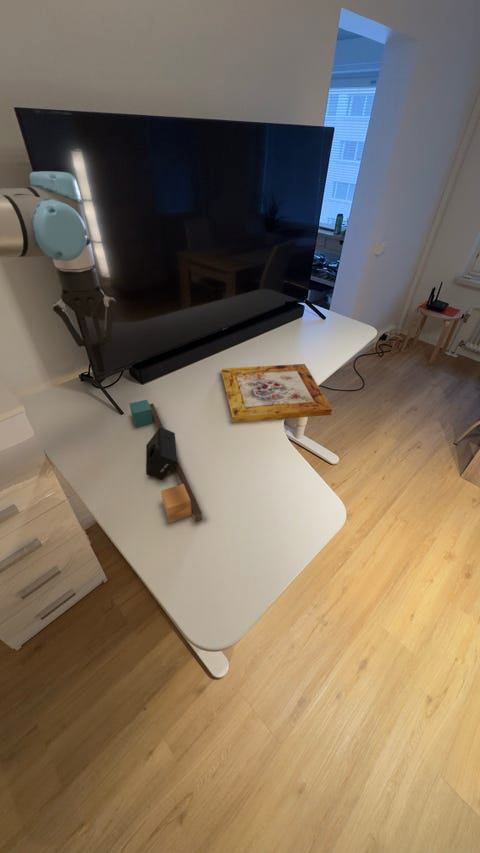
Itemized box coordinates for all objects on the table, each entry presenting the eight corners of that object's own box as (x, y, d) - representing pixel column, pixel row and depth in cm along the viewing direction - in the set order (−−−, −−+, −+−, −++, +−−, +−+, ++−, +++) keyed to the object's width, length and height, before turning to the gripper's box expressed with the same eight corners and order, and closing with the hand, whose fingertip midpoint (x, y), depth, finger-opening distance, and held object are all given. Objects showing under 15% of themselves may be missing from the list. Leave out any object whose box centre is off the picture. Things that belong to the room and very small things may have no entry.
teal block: (136, 427, 96) (133, 413, 93) (132, 417, 99) (129, 403, 96) (153, 423, 98) (151, 409, 94) (149, 413, 101) (147, 399, 98)
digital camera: (141, 442, 86) (155, 424, 84) (160, 450, 89) (175, 432, 86) (141, 473, 79) (156, 453, 76) (161, 480, 82) (177, 461, 79)
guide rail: (195, 522, 73) (194, 515, 71) (149, 411, 102) (147, 404, 100) (202, 519, 74) (201, 512, 72) (154, 410, 102) (153, 403, 101)
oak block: (169, 522, 73) (167, 508, 69) (163, 505, 76) (160, 490, 73) (192, 514, 74) (190, 500, 71) (184, 498, 78) (183, 483, 75)
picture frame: (332, 409, 102) (232, 417, 97) (330, 415, 103) (232, 422, 99) (304, 363, 122) (221, 368, 118) (303, 369, 123) (221, 373, 119)
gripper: (106, 260, 74) (125, 358, 89) (39, 264, 69) (71, 367, 84) (112, 269, 69) (131, 372, 84) (40, 275, 64) (74, 382, 79)
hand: (101, 369), depth 84 cm, fingers closed
